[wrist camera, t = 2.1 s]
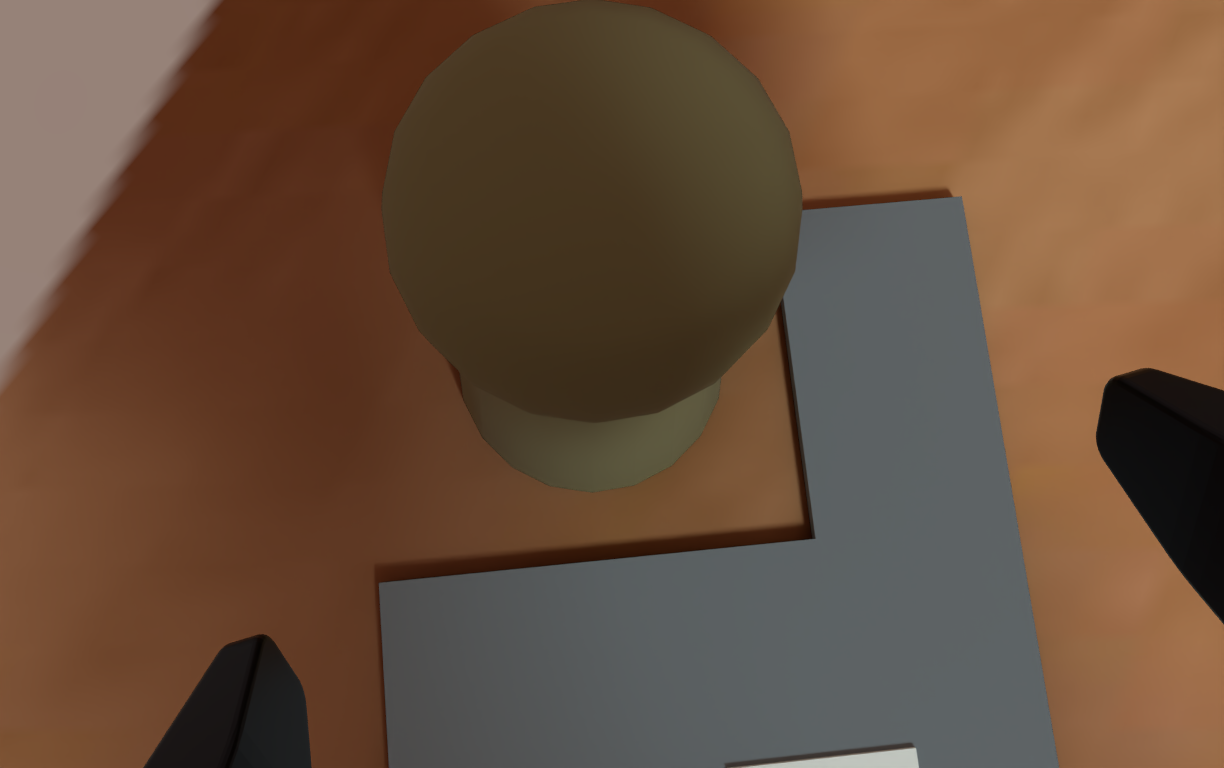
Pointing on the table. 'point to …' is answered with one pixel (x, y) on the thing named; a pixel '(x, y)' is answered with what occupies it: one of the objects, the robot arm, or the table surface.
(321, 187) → the table surface
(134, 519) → the table surface
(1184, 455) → the robot arm
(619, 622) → the label panel
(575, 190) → the olive green pawn
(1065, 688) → the table surface
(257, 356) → the table surface
